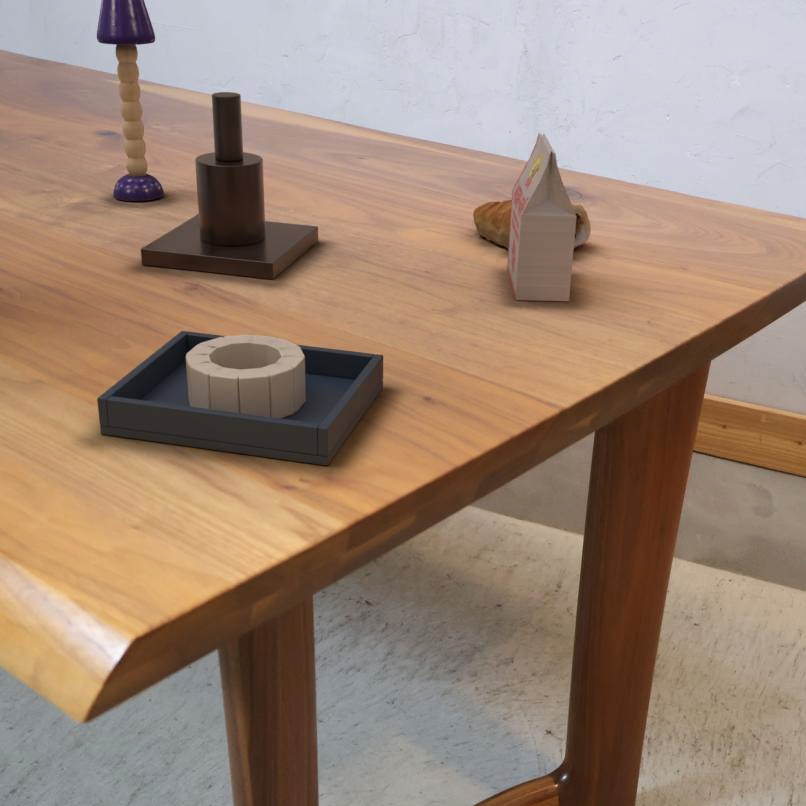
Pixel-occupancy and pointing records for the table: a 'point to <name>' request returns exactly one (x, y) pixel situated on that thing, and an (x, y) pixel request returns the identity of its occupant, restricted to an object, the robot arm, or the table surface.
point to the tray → (235, 432)
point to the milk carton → (541, 230)
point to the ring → (247, 375)
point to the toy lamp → (130, 91)
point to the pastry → (496, 222)
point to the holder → (230, 212)
